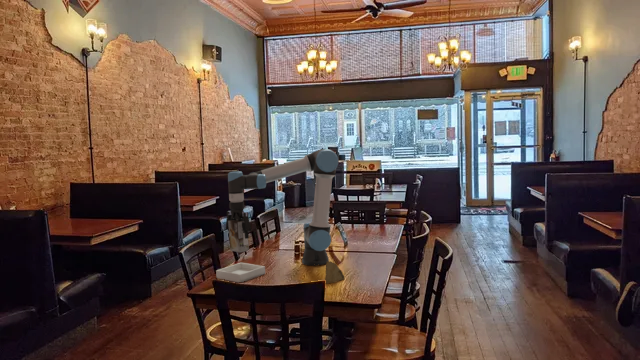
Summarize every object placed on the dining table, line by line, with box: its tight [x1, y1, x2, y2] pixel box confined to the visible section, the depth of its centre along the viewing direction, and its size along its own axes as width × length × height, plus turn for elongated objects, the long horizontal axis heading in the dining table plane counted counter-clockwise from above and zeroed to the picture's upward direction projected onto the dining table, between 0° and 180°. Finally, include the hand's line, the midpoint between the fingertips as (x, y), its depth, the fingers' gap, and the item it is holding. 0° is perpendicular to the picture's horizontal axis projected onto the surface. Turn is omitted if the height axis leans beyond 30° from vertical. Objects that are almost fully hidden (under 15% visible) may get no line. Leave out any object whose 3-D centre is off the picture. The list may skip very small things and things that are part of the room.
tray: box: [215, 262, 266, 283], centre depth 250 cm, size 18×18×4 cm
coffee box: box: [228, 219, 250, 253], centre depth 248 cm, size 9×6×16 cm
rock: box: [324, 260, 345, 285], centre depth 233 cm, size 11×9×10 cm
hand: (239, 243), depth 249 cm, fingers closed on coffee box, 9 cm apart
